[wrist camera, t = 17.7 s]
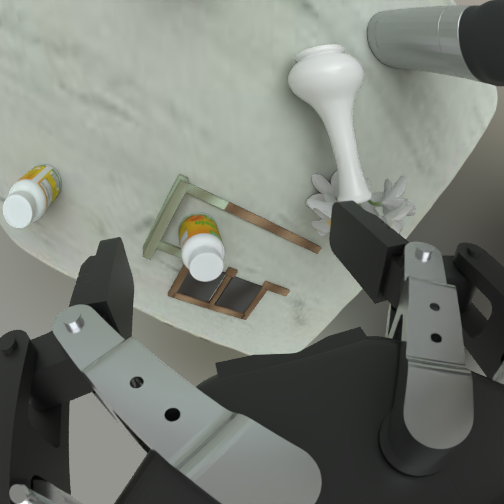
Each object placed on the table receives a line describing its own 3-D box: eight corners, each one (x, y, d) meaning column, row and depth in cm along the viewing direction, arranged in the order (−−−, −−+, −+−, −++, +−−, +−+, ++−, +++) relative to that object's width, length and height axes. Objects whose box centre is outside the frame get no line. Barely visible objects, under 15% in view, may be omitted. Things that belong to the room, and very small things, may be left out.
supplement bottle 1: (68, 174, 36) (44, 202, 28) (53, 207, 37) (30, 242, 29) (36, 156, 33) (5, 180, 25) (22, 190, 34) (-7, 221, 26)
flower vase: (265, 75, 42) (305, 233, 50) (274, 39, 24) (333, 284, 33) (347, 61, 41) (381, 213, 49) (398, 26, 23) (440, 253, 32)
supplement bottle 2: (222, 218, 45) (237, 254, 37) (207, 250, 47) (218, 291, 39) (186, 206, 42) (193, 241, 34) (172, 239, 44) (176, 280, 36)
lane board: (322, 243, 51) (330, 253, 49) (263, 322, 57) (267, 334, 55) (179, 173, 40) (180, 181, 37) (128, 279, 46) (126, 291, 43)
